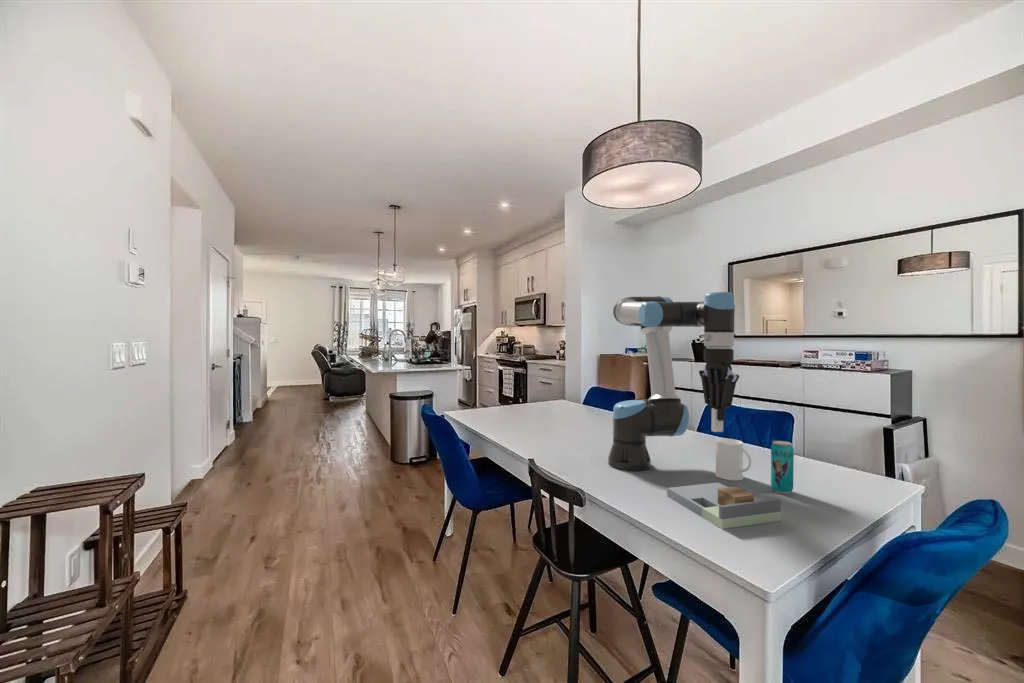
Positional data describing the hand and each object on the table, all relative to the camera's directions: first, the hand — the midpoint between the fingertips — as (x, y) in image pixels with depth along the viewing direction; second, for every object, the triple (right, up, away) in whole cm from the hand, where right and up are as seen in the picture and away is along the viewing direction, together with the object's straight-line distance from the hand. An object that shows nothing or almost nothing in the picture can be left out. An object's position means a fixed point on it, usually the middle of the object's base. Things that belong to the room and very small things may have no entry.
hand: (717, 431), depth 118 cm
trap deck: (0, -21, -2) cm, 21 cm away
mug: (+16, -21, +22) cm, 34 cm away
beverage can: (+25, -21, +10) cm, 34 cm away
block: (+1, -18, -7) cm, 20 cm away
